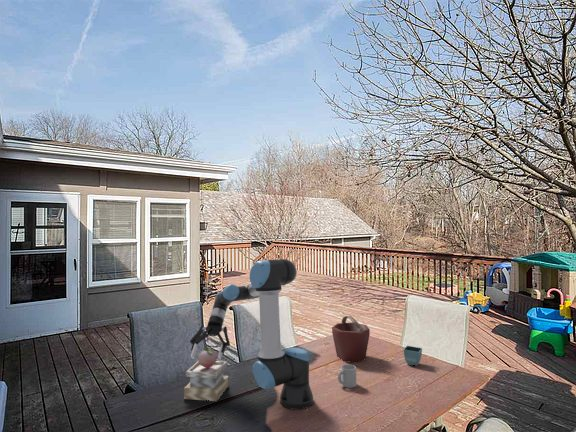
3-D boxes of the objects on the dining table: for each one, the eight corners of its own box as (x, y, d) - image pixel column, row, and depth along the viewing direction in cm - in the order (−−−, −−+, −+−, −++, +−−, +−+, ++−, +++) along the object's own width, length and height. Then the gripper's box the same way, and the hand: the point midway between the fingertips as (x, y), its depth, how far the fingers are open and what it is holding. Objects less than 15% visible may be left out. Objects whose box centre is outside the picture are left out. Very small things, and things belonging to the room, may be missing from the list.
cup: (359, 386, 172) (358, 368, 172) (342, 390, 168) (341, 371, 168) (351, 381, 178) (350, 363, 179) (334, 384, 174) (334, 366, 175)
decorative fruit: (194, 368, 167) (194, 347, 168) (208, 364, 173) (208, 343, 174) (205, 373, 161) (205, 351, 161) (219, 368, 167) (219, 347, 167)
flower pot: (422, 363, 202) (422, 347, 203) (419, 368, 195) (419, 352, 195) (407, 360, 207) (406, 345, 207) (403, 365, 199) (403, 349, 200)
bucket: (372, 365, 200) (372, 321, 201) (334, 365, 200) (334, 321, 201) (364, 351, 224) (363, 312, 226) (330, 351, 224) (329, 312, 226)
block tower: (228, 386, 173) (228, 361, 174) (217, 401, 157) (217, 373, 158) (198, 384, 175) (198, 359, 176) (184, 398, 159) (184, 372, 160)
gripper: (241, 323, 181) (232, 363, 165) (196, 322, 185) (183, 360, 169) (238, 315, 176) (228, 355, 161) (192, 314, 180) (178, 353, 164)
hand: (205, 358), depth 165 cm, fingers open, 13 cm apart
